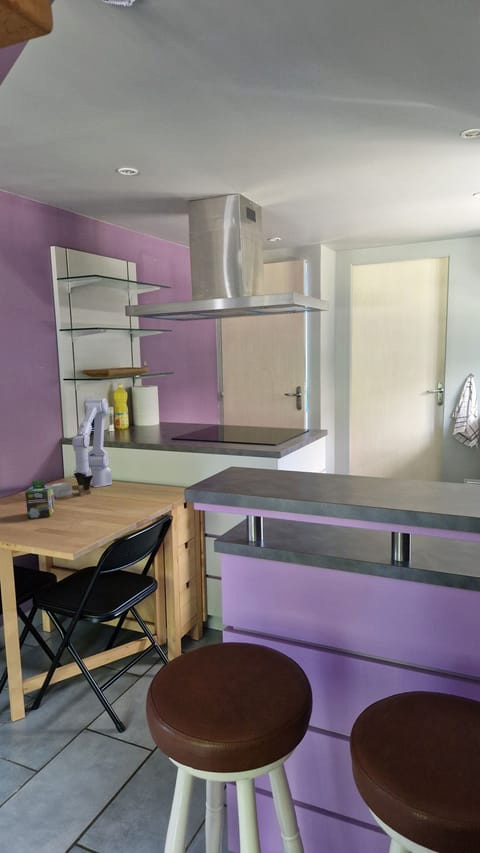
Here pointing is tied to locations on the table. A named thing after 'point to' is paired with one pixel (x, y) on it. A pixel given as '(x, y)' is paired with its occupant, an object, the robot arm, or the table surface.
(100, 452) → the robot arm
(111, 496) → the table surface
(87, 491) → the walnut block
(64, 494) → the small box
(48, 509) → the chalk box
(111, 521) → the table surface
